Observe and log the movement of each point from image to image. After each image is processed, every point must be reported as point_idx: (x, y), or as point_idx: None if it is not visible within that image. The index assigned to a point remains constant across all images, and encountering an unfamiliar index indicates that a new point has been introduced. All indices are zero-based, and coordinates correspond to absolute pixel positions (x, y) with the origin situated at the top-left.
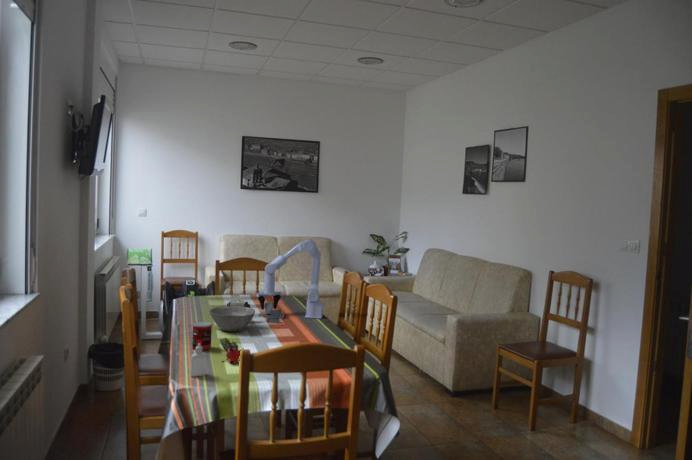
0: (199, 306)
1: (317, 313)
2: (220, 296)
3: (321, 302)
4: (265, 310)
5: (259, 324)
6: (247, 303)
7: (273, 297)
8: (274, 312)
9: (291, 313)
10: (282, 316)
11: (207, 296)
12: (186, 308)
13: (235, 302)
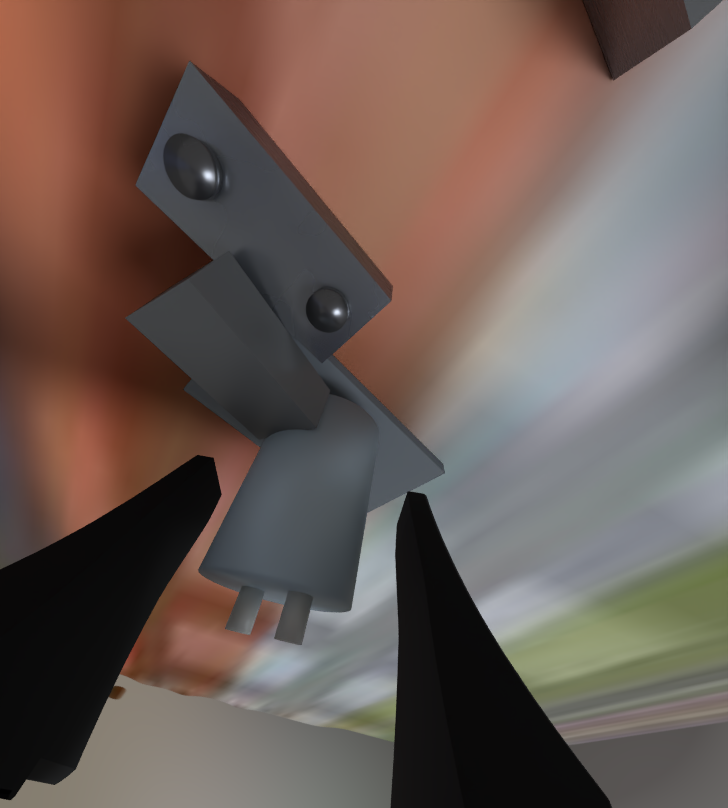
0: (544, 712)
1: None
2: (337, 723)
3: None
4: (372, 478)
5: None
6: None
7: (92, 714)
8: (287, 347)
9: (37, 373)
10: (214, 80)
11: (381, 735)
12: (633, 721)
13: None
